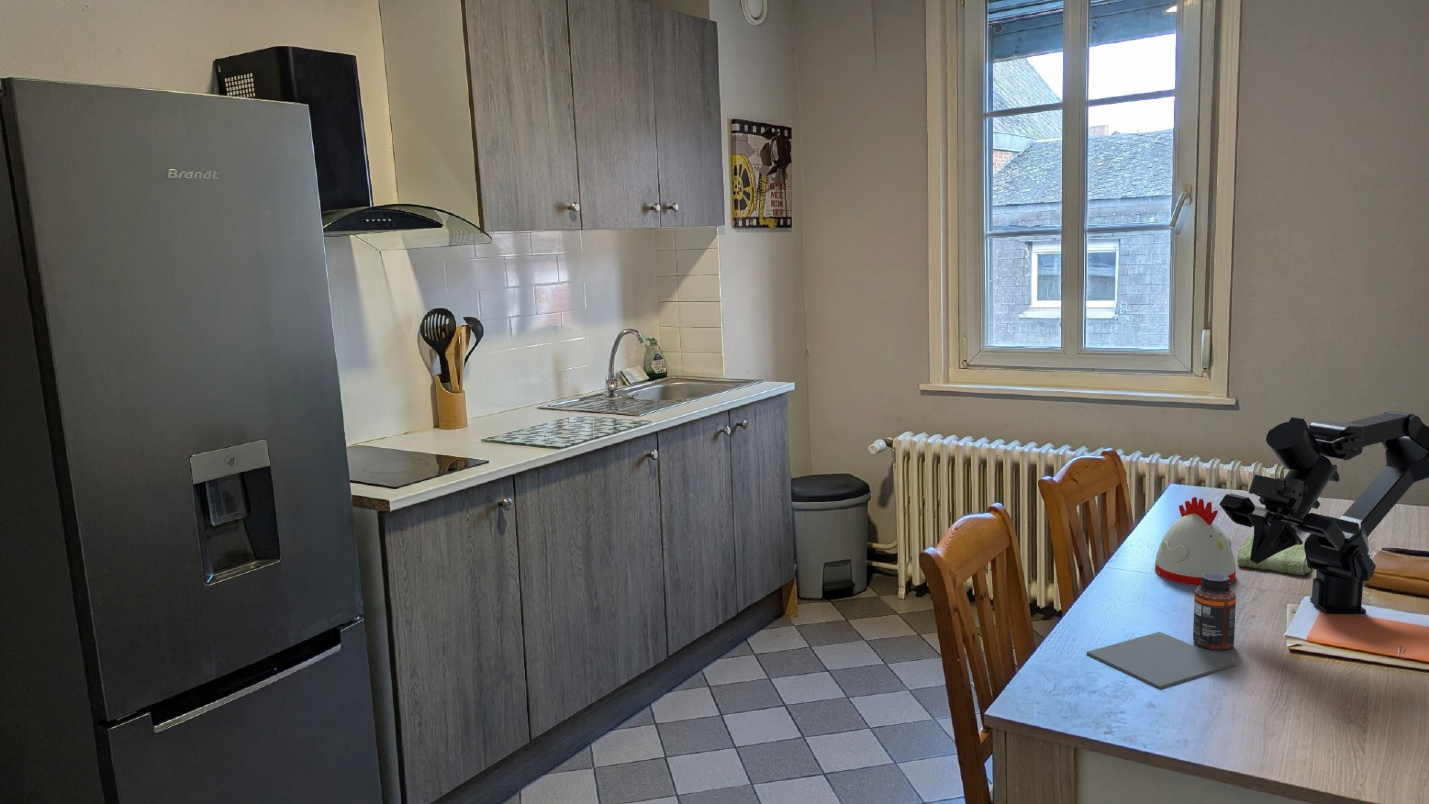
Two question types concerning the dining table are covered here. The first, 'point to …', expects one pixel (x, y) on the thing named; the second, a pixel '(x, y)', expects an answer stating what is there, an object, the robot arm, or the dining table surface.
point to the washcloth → (1276, 559)
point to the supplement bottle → (1214, 612)
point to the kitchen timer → (1195, 547)
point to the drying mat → (1160, 659)
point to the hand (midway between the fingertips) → (1253, 561)
